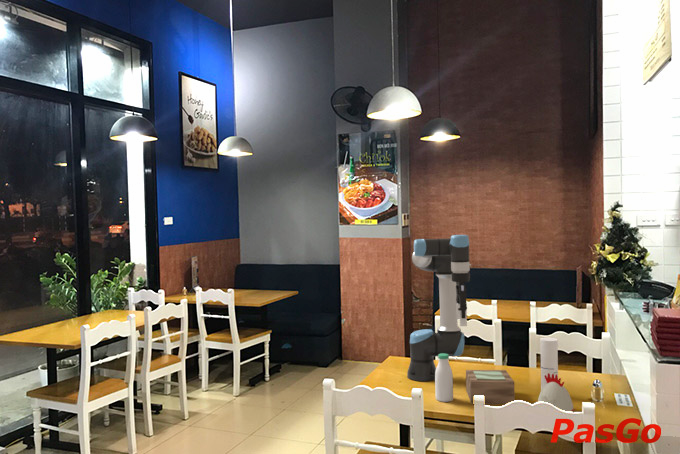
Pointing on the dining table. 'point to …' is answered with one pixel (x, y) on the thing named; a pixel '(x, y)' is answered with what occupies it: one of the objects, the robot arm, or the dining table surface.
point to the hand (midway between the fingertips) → (461, 322)
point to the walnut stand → (490, 386)
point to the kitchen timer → (556, 394)
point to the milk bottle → (443, 379)
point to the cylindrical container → (548, 358)
